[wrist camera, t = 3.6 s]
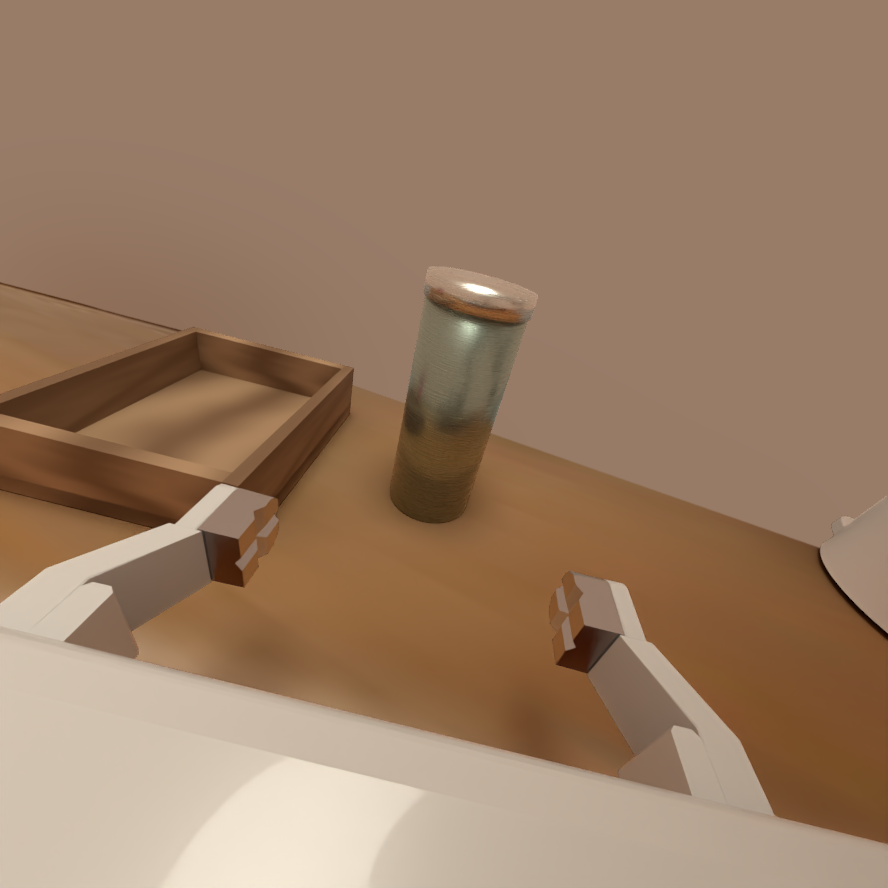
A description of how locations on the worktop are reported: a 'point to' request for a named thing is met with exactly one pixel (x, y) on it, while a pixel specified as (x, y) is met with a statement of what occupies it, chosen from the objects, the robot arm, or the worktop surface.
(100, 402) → the crate
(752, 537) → the worktop surface
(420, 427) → the spice tin
